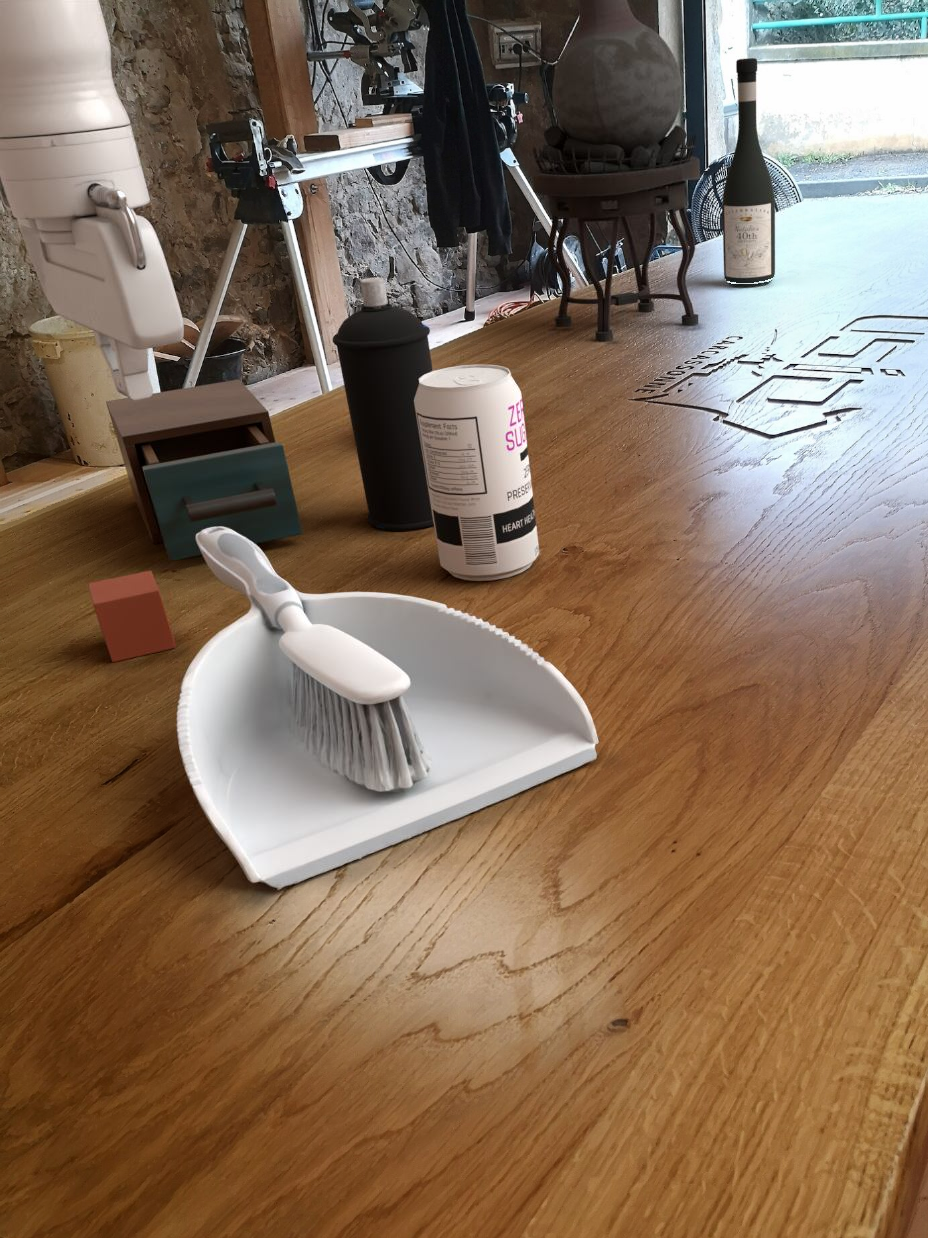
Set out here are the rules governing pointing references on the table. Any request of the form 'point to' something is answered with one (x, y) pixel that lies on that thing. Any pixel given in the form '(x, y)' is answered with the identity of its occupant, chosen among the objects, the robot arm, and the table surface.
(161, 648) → the block
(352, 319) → the aerosol can
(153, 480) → the drawer
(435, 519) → the supplement can
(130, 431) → the cabinet
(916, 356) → the table surface
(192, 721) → the dustpan and brush
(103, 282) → the robot arm
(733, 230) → the wine bottle
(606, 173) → the brazier
